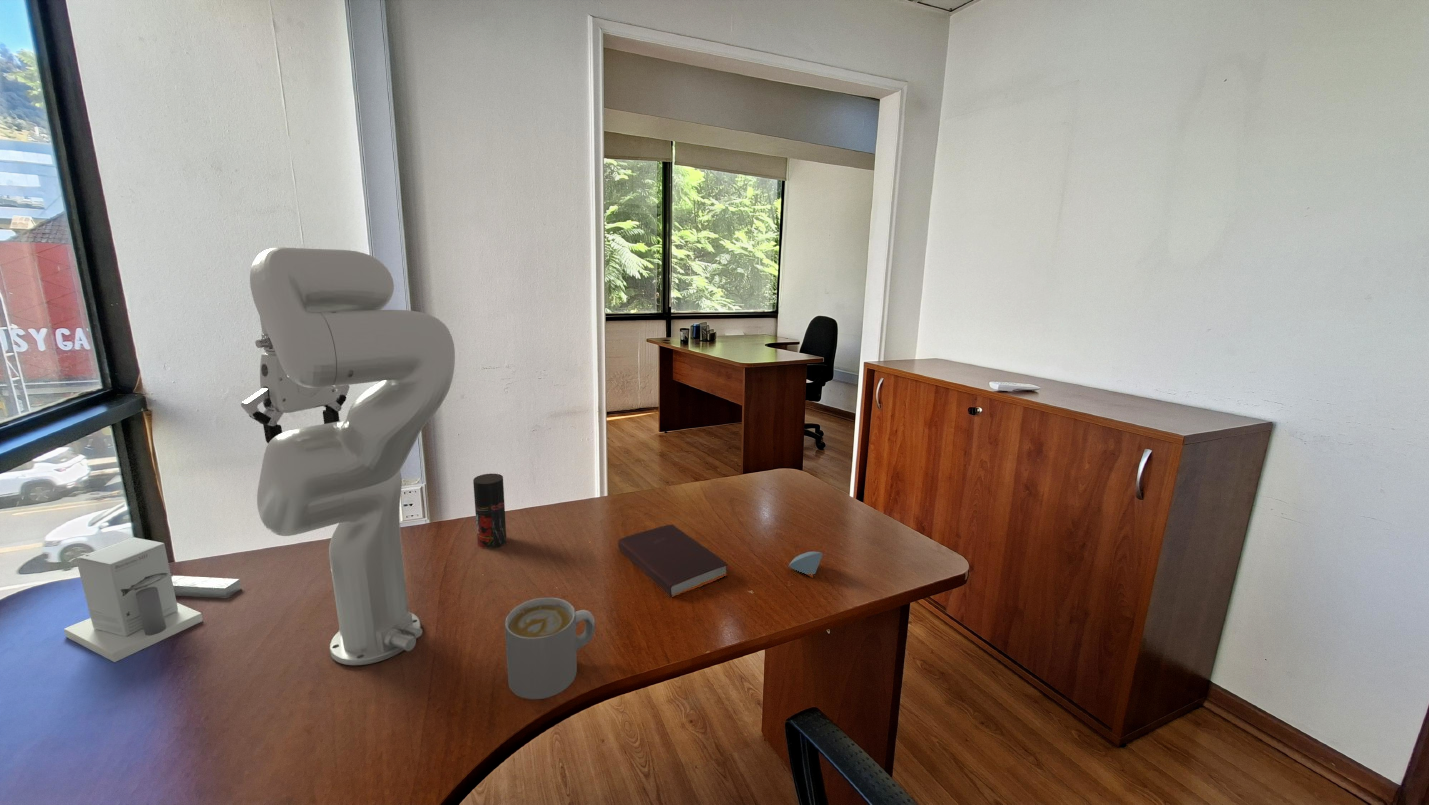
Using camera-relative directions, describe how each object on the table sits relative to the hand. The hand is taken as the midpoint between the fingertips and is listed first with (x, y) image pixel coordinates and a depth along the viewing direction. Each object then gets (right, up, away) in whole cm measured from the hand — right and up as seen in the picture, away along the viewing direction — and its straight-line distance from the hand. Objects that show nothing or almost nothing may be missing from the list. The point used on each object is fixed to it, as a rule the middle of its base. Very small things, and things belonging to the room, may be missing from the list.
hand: (305, 438), depth 99 cm
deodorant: (+24, -25, +23) cm, 42 cm away
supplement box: (-21, -29, -9) cm, 37 cm away
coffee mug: (+49, -35, -14) cm, 61 cm away
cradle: (-21, -30, -9) cm, 38 cm away
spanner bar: (-22, -28, +2) cm, 36 cm away
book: (+64, -28, +18) cm, 72 cm away
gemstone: (+92, -29, +16) cm, 98 cm away
